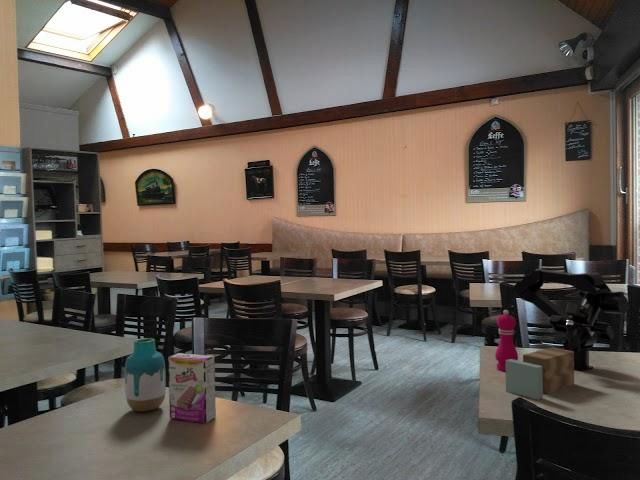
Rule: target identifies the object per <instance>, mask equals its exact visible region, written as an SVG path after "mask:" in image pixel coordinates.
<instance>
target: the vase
mask: <svg viewBox="0 0 640 480" xmlns="http://www.w3.org/2000/svg"><path fill="white" fill-rule="evenodd" d="M165 362H166V361H165V358H164V356H163V354H162V353H161V352H159V351H157V349H156V341H155V338H152V337H145V338H143V337H142V338H137V339H135V340H134V341H133V351H132V354H130V355H129V356H128V357H126V359H125V364H124V390H125V398H126V399H125V400H126V403H127V405H128V407H129V409H131V410H133V411H136V412H142V413H143V412H150V411H153V410H154V411H155V409H158V408H159V407H161V405H163V402H164V401H165V399H166V398H165V397H166V390H167V389H166V387H167V380H166V379H167V376H166V374H167V373H166V363H165Z"/></svg>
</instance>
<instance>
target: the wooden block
mask: <svg viewBox="0 0 640 480" xmlns="http://www.w3.org/2000/svg"><path fill="white" fill-rule="evenodd" d="M522 362H526V363H531V364H535V365H540V366H542V380H543V393H544V394H543V395H546V393H547V394H549V392H550V393H553V392H555V391H558V389H559V390H562V389H564V388H567V387H570V386H573V385H575V369H574V351H569V350H565V349H564V348H557V347H553V346H552V347H548V348H544V349H540V350H537V351H532V352H529V353H525V354H523V355H522ZM552 391H553V392H552Z"/></svg>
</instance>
